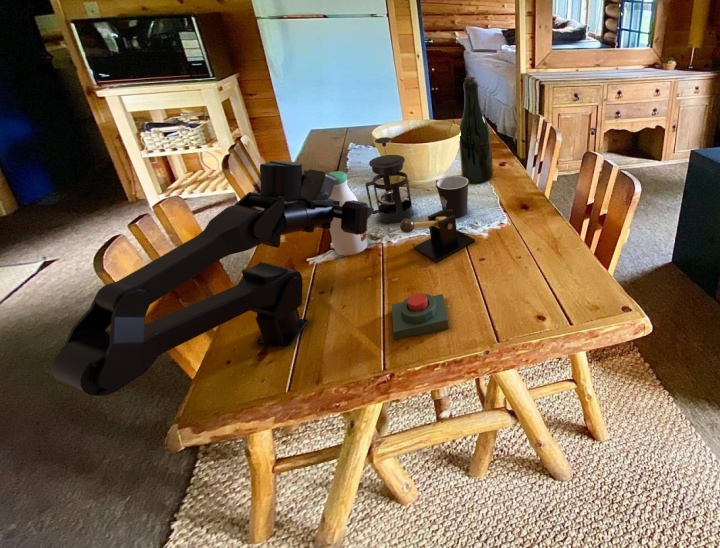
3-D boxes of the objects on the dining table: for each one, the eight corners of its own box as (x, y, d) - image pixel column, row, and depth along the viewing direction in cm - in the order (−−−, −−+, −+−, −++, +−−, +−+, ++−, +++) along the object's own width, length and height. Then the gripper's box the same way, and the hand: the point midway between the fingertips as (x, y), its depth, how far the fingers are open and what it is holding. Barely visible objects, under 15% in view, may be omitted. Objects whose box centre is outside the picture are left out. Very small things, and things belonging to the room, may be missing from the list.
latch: (404, 235, 97) (406, 221, 96) (395, 230, 98) (397, 217, 98) (449, 230, 107) (452, 218, 106) (441, 226, 109) (443, 214, 108)
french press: (410, 205, 130) (398, 130, 119) (421, 218, 123) (409, 140, 112) (369, 215, 124) (353, 138, 113) (378, 230, 117) (361, 149, 106)
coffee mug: (474, 218, 122) (471, 186, 118) (443, 224, 119) (439, 191, 115) (464, 200, 132) (462, 170, 127) (436, 205, 129) (432, 174, 125)
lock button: (409, 314, 83) (407, 307, 82) (408, 302, 86) (406, 295, 85) (428, 310, 84) (427, 302, 83) (426, 298, 87) (425, 291, 86)
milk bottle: (357, 258, 105) (339, 183, 96) (328, 255, 107) (308, 180, 98) (374, 241, 112) (359, 169, 103) (347, 238, 113) (330, 166, 104)
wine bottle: (466, 186, 141) (457, 82, 126) (458, 174, 149) (448, 75, 134) (497, 180, 145) (492, 79, 130) (488, 169, 153) (481, 72, 138)
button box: (394, 340, 82) (391, 324, 80) (393, 312, 88) (390, 297, 87) (449, 328, 84) (446, 312, 83) (443, 302, 91) (441, 286, 89)
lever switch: (436, 264, 103) (432, 232, 99) (414, 250, 108) (409, 219, 104) (475, 243, 111) (472, 212, 107) (452, 231, 116) (449, 201, 112)
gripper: (337, 180, 78) (393, 176, 93) (259, 167, 84) (324, 164, 98) (334, 241, 80) (390, 227, 94) (258, 224, 85) (321, 213, 100)
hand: (355, 206), depth 97 cm, fingers open, 9 cm apart
